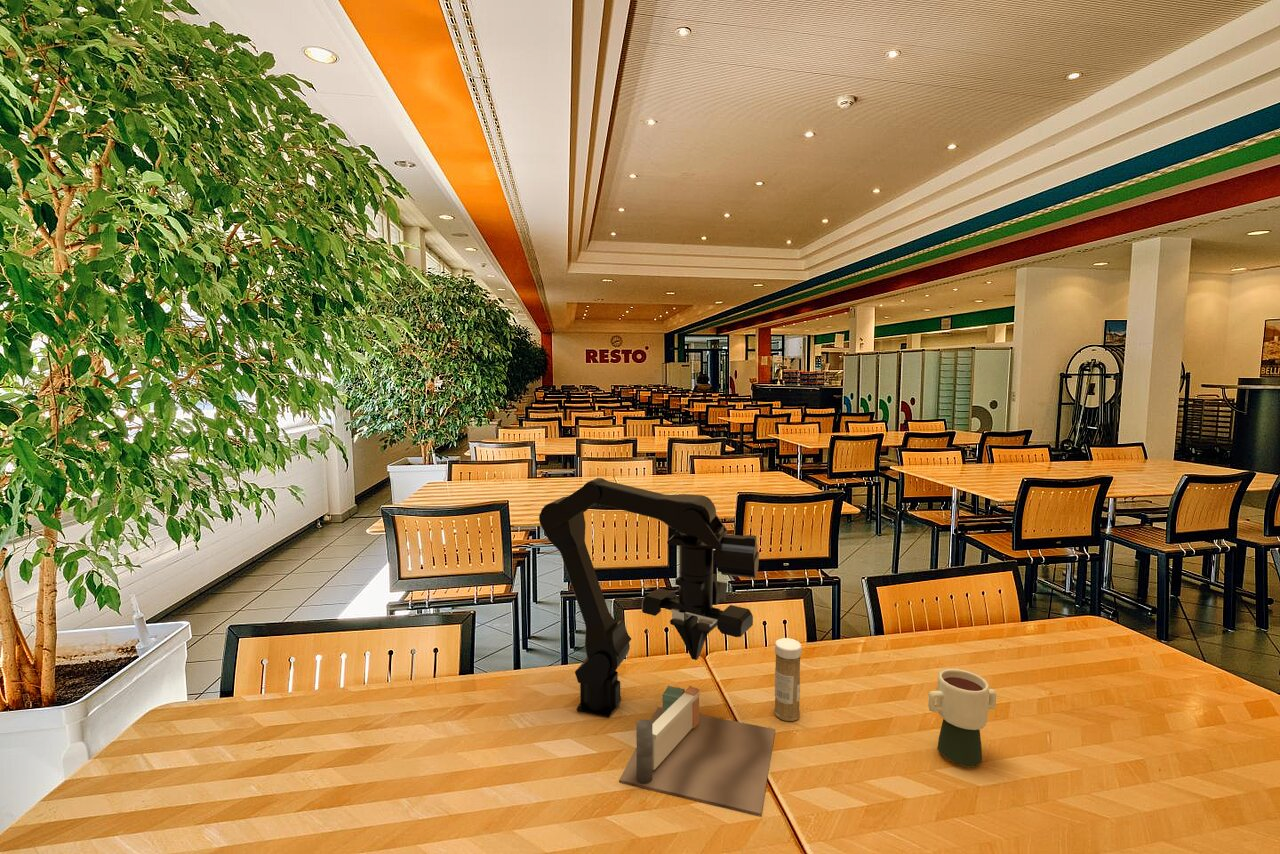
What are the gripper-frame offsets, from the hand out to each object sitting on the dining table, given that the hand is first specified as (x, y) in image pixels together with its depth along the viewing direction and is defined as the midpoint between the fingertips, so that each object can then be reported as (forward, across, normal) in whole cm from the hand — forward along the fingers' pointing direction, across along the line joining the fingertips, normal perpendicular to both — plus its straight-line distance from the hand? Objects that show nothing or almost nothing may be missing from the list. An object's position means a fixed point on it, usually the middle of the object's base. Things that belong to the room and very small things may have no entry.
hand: (695, 658), depth 99 cm
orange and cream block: (+11, 0, +8) cm, 14 cm away
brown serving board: (+12, -5, +6) cm, 14 cm away
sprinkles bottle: (+12, -13, -11) cm, 21 cm away
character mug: (+12, -40, -15) cm, 44 cm away
